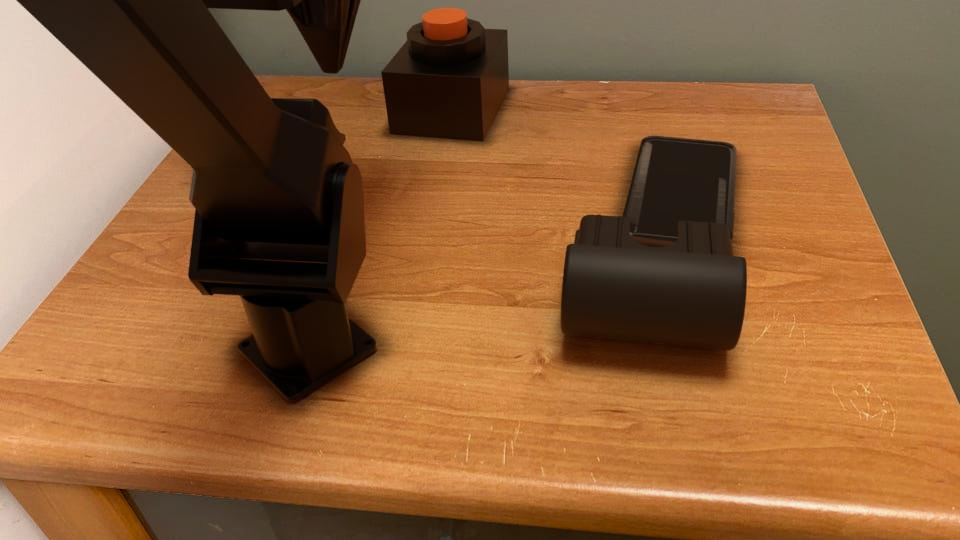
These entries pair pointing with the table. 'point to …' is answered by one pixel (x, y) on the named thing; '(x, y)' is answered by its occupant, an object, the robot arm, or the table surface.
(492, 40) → the push button base
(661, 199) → the phone
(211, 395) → the table surface
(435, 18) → the orange push button
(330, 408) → the table surface
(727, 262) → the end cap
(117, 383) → the table surface
